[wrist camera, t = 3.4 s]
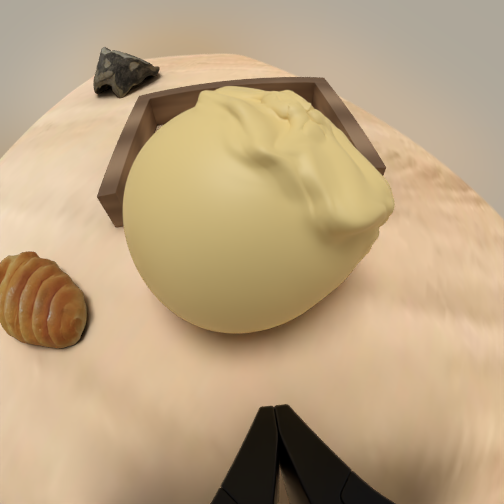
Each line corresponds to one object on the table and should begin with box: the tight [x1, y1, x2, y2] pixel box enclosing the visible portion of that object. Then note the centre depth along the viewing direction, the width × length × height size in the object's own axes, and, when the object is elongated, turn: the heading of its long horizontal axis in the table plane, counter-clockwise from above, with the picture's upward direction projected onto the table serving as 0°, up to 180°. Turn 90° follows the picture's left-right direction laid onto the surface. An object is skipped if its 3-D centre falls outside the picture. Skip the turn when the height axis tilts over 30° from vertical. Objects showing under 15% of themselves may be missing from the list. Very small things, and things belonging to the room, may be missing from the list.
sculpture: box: [123, 86, 395, 333], centre depth 14 cm, size 11×12×11 cm
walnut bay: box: [97, 77, 386, 227], centre depth 23 cm, size 16×20×4 cm
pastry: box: [0, 252, 87, 348], centre depth 15 cm, size 9×7×4 cm
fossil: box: [94, 47, 159, 98], centre depth 33 cm, size 11×9×10 cm
